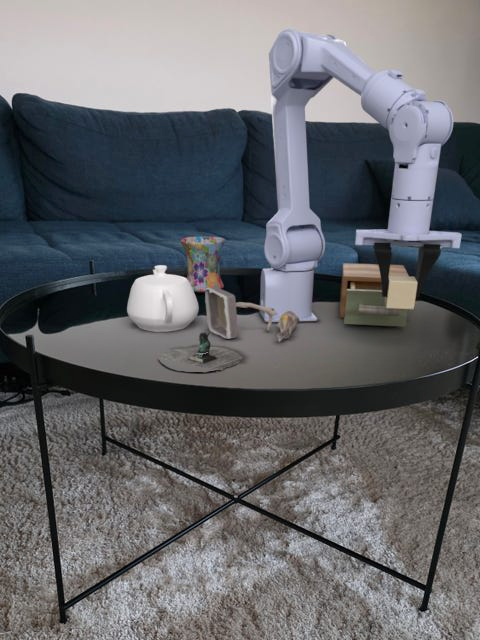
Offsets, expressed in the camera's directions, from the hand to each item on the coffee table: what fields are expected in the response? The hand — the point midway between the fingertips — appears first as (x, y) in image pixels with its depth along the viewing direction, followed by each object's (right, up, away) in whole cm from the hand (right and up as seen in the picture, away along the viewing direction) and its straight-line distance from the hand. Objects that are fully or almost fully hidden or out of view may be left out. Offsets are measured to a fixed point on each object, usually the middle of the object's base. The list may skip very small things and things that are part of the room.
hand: (399, 296), depth 88 cm
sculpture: (-30, -10, -1) cm, 31 cm away
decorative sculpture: (-21, -4, +10) cm, 24 cm away
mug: (-32, +10, +41) cm, 53 cm away
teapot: (-37, -1, +16) cm, 41 cm away
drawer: (0, -1, +16) cm, 16 cm away
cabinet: (+1, +3, +25) cm, 25 cm away
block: (0, -1, +1) cm, 1 cm away
